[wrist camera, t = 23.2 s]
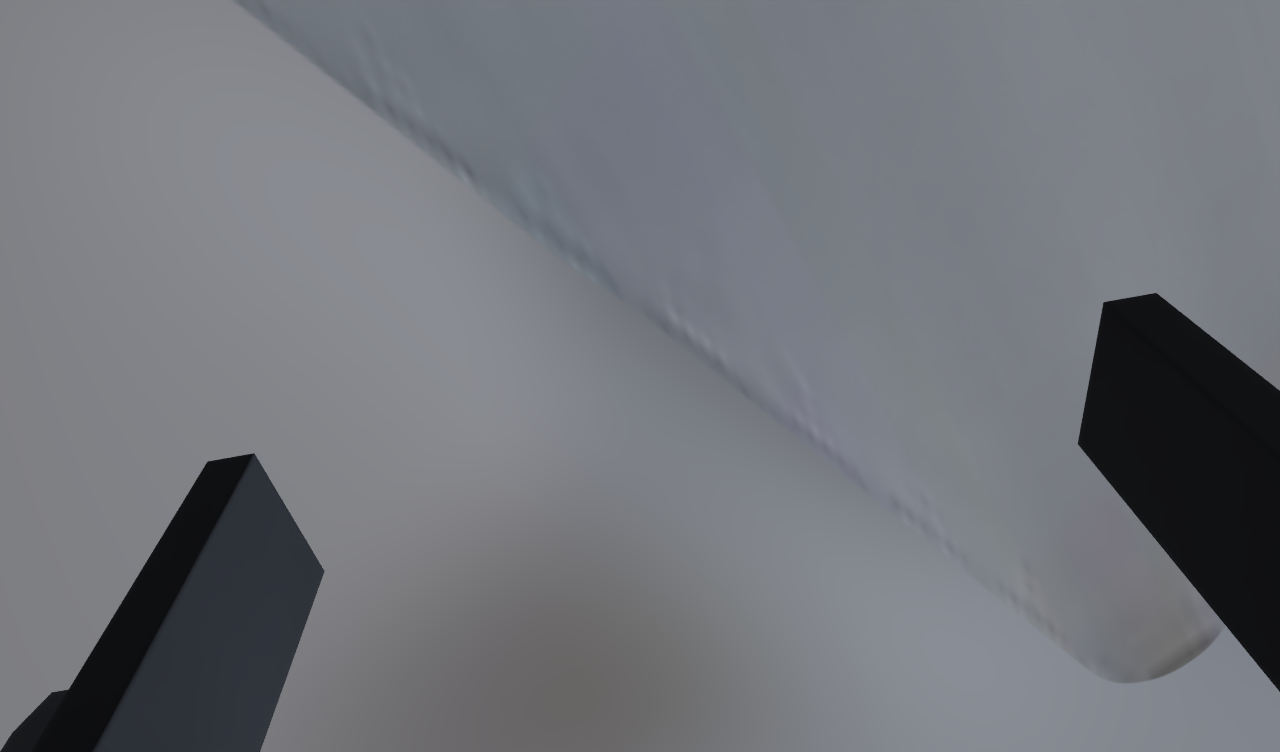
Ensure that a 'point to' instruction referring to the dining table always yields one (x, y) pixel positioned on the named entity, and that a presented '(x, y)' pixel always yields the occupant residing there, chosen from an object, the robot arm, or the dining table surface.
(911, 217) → the dining table surface
